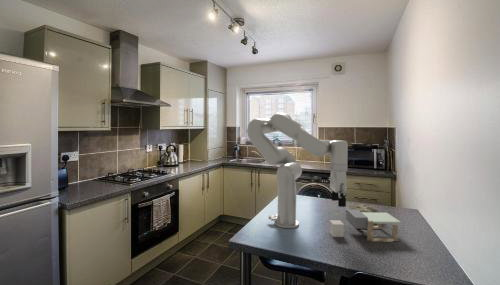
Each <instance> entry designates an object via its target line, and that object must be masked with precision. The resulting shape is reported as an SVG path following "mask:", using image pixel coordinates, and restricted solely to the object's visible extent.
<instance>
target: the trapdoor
mask: <svg viewBox="0 0 500 285" xmlns="http://www.w3.org/2000/svg"><path fill="white" fill-rule="evenodd" d="M345 218H346V221H347V222H348V223H349V224H350V225H351V226H352V227H353V228H354V229H356V228H367V226H368V221H373V224H376V225H377V224H381V225H383V224H385V225H387V224H389V225H392V224H393V225H401V224H402V221H400V220H398V218H395V217H394V216H393V215H391V214H390V213H388V212H380V213H373V212H360V211H359V210H352V209H347V208H346V210H345Z"/></svg>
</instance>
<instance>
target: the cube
mask: <svg viewBox="0 0 500 285" xmlns="http://www.w3.org/2000/svg"><path fill="white" fill-rule="evenodd" d="M344 229H345V224H344V223H343V222H342V221H341V220H336V219H335V220H333V219H331V220H329V229H328V230H329V234H330V236H331V237H333V238H344V233H345V232H344V231H345V230H344Z"/></svg>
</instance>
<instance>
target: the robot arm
mask: <svg viewBox="0 0 500 285" xmlns="http://www.w3.org/2000/svg"><path fill="white" fill-rule="evenodd" d="M246 132H247V137H248V139H249V140H250V142H251V144H252V145H253V146H254V147H255V148H256V149H257V151H258V152H259V154H261V156H262V157H263V158H264V160H265V161H266V162H267V163H268V164H269V165H270V166H272V167H276V166H279V167H278V168H277V171H276V181H277V182H276V183H277V213H276V214H274V215H268V220H270V221H271V222H273V221H274V225H275V226H276V227H279V228H282V229H294V228H297V227H299V225H300V223H299V220H297V185H296V180H297V179H298V178H301V176H302V173H303V168H302V166H301V164H300V163H299V162H298V161H297V160H296V158H295V157H294V156H293V155H292V154H291V153H290V151H288V149H286V148H285V147H283V146H276V145H275V144H274V143H273V142H272V140H271V139H270V138H269V137H268V136H266V134H272V133H275V132H280V133H282V134H283V135H285V136H287V137H288V138H290V139H291V140H292V141H294V142H295V144H297V145H298V146H299V147H301V149H303V150H305V151H306V152H308V153H310V154H311V155H312V156H315V157H321V158H322V157H323V156H329V155H330V156H329V157H330V158H329V159H330V161H329V162H330V164H329V166H330V169H329V170H330V177H329V189H330V190H331V201H333V202H334V201H338V202H337V204H338V207H339V208H345V207H346V208H347V188H348V187H347V186H348V185H347V181H348V180H347V171H348V155H349V154H348V151H349V149H348V146H349V145H348V144H349V143H348V141H347V140H338V139H337V140H329V139H319V138H318V137H316V136H314V135H312V134H310V133H309V132H308V131H307V130H306V129H305V126H304V125H302V123H300V122H297V121H296V120H294V119H292V117H291V116H290V115H289V114H288V113H284V112H277V113H274V114H272V116H271V117H267V118H265V117H264V118H261V117H260V118H259V117H258V118H257V117H256V118H253V119H252V120H250V121H249V123H248V125H247V131H246Z"/></svg>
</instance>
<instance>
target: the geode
mask: <svg viewBox="0 0 500 285" xmlns="http://www.w3.org/2000/svg"><path fill="white" fill-rule="evenodd" d="M346 209H352V210H360V212H373V213H381V212H379V209H378V208H377V207H374V206H372V205H370V206H367V204H366V203H365V204H357V205H350V206H346Z"/></svg>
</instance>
